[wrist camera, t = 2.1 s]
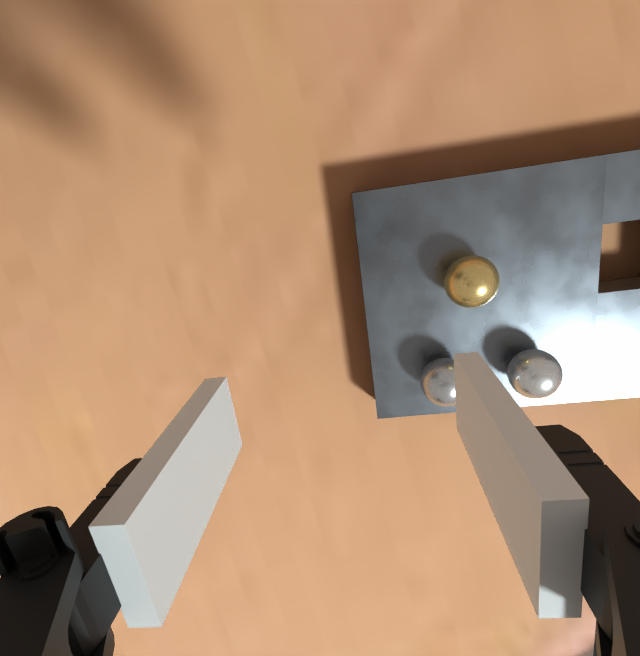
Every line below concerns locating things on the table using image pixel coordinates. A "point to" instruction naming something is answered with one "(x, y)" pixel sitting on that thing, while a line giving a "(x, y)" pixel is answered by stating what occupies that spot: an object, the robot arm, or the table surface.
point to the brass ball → (471, 281)
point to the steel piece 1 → (439, 382)
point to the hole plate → (502, 278)
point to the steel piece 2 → (535, 373)
